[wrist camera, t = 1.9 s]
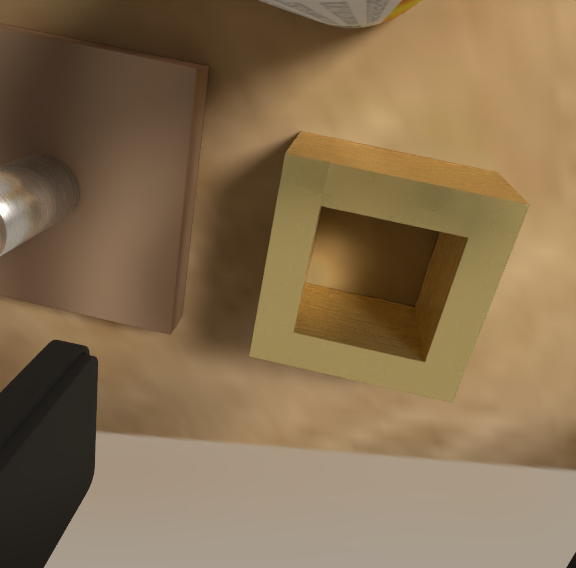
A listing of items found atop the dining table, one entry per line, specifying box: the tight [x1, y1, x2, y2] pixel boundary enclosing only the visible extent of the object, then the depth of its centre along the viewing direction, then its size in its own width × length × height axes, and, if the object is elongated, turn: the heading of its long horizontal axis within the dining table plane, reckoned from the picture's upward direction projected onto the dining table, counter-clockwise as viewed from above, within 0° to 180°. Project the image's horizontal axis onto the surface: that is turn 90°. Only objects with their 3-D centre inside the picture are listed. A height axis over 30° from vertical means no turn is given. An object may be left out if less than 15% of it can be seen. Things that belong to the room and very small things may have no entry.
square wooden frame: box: [249, 132, 529, 403], centre depth 18 cm, size 7×7×4 cm
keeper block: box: [0, 24, 209, 335], centre depth 18 cm, size 10×10×7 cm
